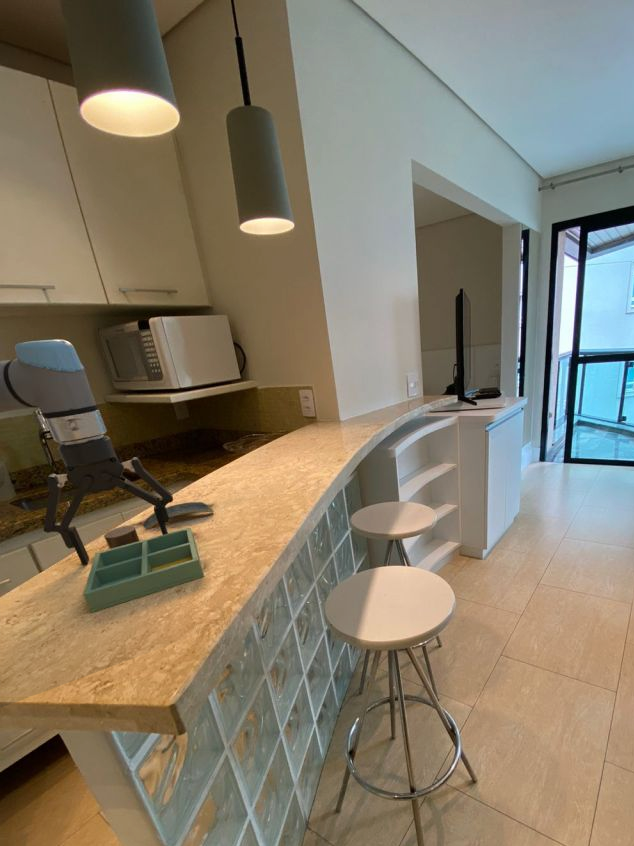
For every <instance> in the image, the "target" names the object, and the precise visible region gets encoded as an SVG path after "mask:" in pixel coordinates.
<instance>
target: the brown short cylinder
mask: <svg viewBox="0 0 634 846" xmlns="http://www.w3.org/2000/svg"><path fill="white" fill-rule="evenodd" d="M103 537H104V539H105V542H106V544H107V546H108V550H109V549H112V548H116V547H120V546H123V545H127V544H131V543H134V542H138V541H141V540H140V538H139V536H138V532H137V529H136V527H135V526H134V525H125V526H120V527H116V528H113V529H111V530H109V531H107V532H106V533H105V534H104V535H103Z"/></svg>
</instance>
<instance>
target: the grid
mask: <svg viewBox="0 0 634 846" xmlns="http://www.w3.org/2000/svg"><path fill="white" fill-rule="evenodd" d="M204 577H205V575H204V570H203V567H202V562H201V558H200V555H199V551H198V548H197V543H196V539H195V537H194V534H193V531H192V528H191V527H186V528H182V529H179V530H175V531H172V532H168V534H164V535H163V534H161V535H156V536H153V537H149V538H146V539H143V540H140V541H138V542H134V543H131V544H127V545H123V546H120V547H116V548H112V549H109V548H108V549H105V550H102V551H97V552H94V556H93V559H92V563H91V567H90V571H89V573H88V577H87V581H86V584H85V588H84V592H83V597H84V599H85V601H86V603H87V606H88V608H89V610H90V612H91V613H95V612H98V611H100V610H101V611H102V610H104V609H107V608H110V607H113V606H117V605H120V604H123V603H125V602H129V601H132V600H135V599H138V598H141V597H144V596H148V595H152V594H154V593H157V592H160V591H163V590H166V589H169V588H173V587H177V586H179V585H182V584H185V583H188V582H191V581H195V580H197V579H201V578H204Z"/></svg>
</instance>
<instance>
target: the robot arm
mask: <svg viewBox="0 0 634 846" xmlns="http://www.w3.org/2000/svg"><path fill="white" fill-rule="evenodd" d="M14 351H15V354H16V358H13V359H6V360H0V413H5V412H6V413H7V412H11V411H18V410H19V411H20V410H27V409H32V408H36V409H37V408H39V409H40V411H41V414H42V415H43V418H44V420H45V423H46V425H47V427H48V429H49V431H50V434H51V436H52V438H53V441H54V442H56V443H59V445H58V446H57V450H58V452H59V455H60V457H61V459H62V462H63V463H64V464H63V465H64V466H65V468H66V473H62V474H61V473H60V474H56V473H51V474H49V475H48V476H47V478H46V483H47V487H48V490H49V492H48V498H47V504H46V509H45V510H46V511H45V516H44V523H43V532H45V533H47V534H49V533H57V534H60V536H61V538H62V540H63V542H64V544H65V546H66V548H67V549H68V550H70V549H73V548H74V550H75V552H76V554H77V556H78V558H79V561H80V563H81V565H83V566H84V565H87V564H88V563H89V559H90V557H89V554H88V552H87V550H86V547H85V545H84V543H83V541H82V539H81V536H80V533H79V532H78V530H77V528H76V526H75V525H74V526H70V524H71V523H72V520H73V518H74V516H75V515H76V513H77V511H78V509H79V507H80V506H81V503H82V501H83V499H84V497H85V495H86V493H88V494H92V495H97V494H99V493H101V492H110V491H114V489H116V488H120V489H121V490H123V491H127V492H129V493H130V494H132V495H134V496H136V497H137V498H139V499H141V500H143V501H145V502H147V503H149V504H151V505H152V506H153V513H155V515H156V518H157V521H158V526H159V528H160V531H161V535H164V534H168V533H169V532H168V529H167V526H166V524H168V523H169V522H170V518H169V516H168V513H167V510H166V507H167V505H168V504H169V503H173V501H174V495H173V494H172V493H171V492H170V491H169V490H168V489H167V488H166V487H165V486H163V484H161V483H160V482H159V481H158V480H157V479H156V478H155V477H154V476H153V475H152V474H151V473H150V472H149V471H147V469H146V468H144V466H143V465H142V462H141V460H140V459H139V458H138V457H137V456H134V457H132V458H131V459H129V460H126V461H120V460H119V458H118V456H117V453H116V451H115V448H114V446H113V443H112V440H111V437H109V436H108V435H105V434H106V433H107V432H108V430H107V427H106V425H105V421H104V418H103V416H102V413H101V412H100V409H99V407H98V405H97V403H96V400H95V398H94V395H93V391H92V389H91V386H90V382H89V381H88V377H87V373H86V370H85V367H84V365H83V364H82V362H81V359H80V358H79V356H78V353H77V351H76V349H75V347H74V345H73V344H72V343H71V342H70V341H67V340H65V339H44V340H33V341H25V342H19V343H16V344H15V346H14ZM125 469H127V470H129V471H130V472H131V473H136V475H137V476H138V477H139V478H140V479H141V480H143V481H144V483H146V484H147V485H148V486H149V487H150V488H151V489H152V490H154V491H155V493H157V494H158V495H159V496H160V497H159V496H157V495H156V494H153V493H151V492H150V491H148V490H146V489H145V488H143V487H141V486H139V485H137V484H136V483H133V482H132V481H131V480H130V479H128V478H126V477H124V476H123V473H124V471H125ZM66 482H69V483H71V484H72V485H74V486H76V487H77V488H78V489H77V491H76V492H75V494H74V496H73V498H72V501H71V503H70V504H69V506H68V507H67V510H66V512H65V514H64V516H63V518H62V519H61V522H57V517H58V510H59V506H60V505H59V504H60V499H61V492H62V488H63V487H64V486H65V485H66Z"/></svg>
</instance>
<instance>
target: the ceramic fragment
mask: <svg viewBox="0 0 634 846" xmlns="http://www.w3.org/2000/svg"><path fill="white" fill-rule="evenodd" d="M165 507H166V510H167V513H168V516H169V519H171V518H174V517H178V516H182V515H186V514H193V513H210V514H211V513H212V514H213V513H214V512H215V510H214V509H213V508H212V507H210V505H208V504H206V503H205V502H202V501H190V502H182V503H177V504H173V505H170V506H165ZM157 525H159V523H158V521H157V518H156V515H155V512H153V513H152V514H151V515H149V516H148V517H147V518H146V519H145V520H144V522H143V524H142V527H143V528H144V529H145V530H149V529H152V528H153V527H155V526H157Z"/></svg>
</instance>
